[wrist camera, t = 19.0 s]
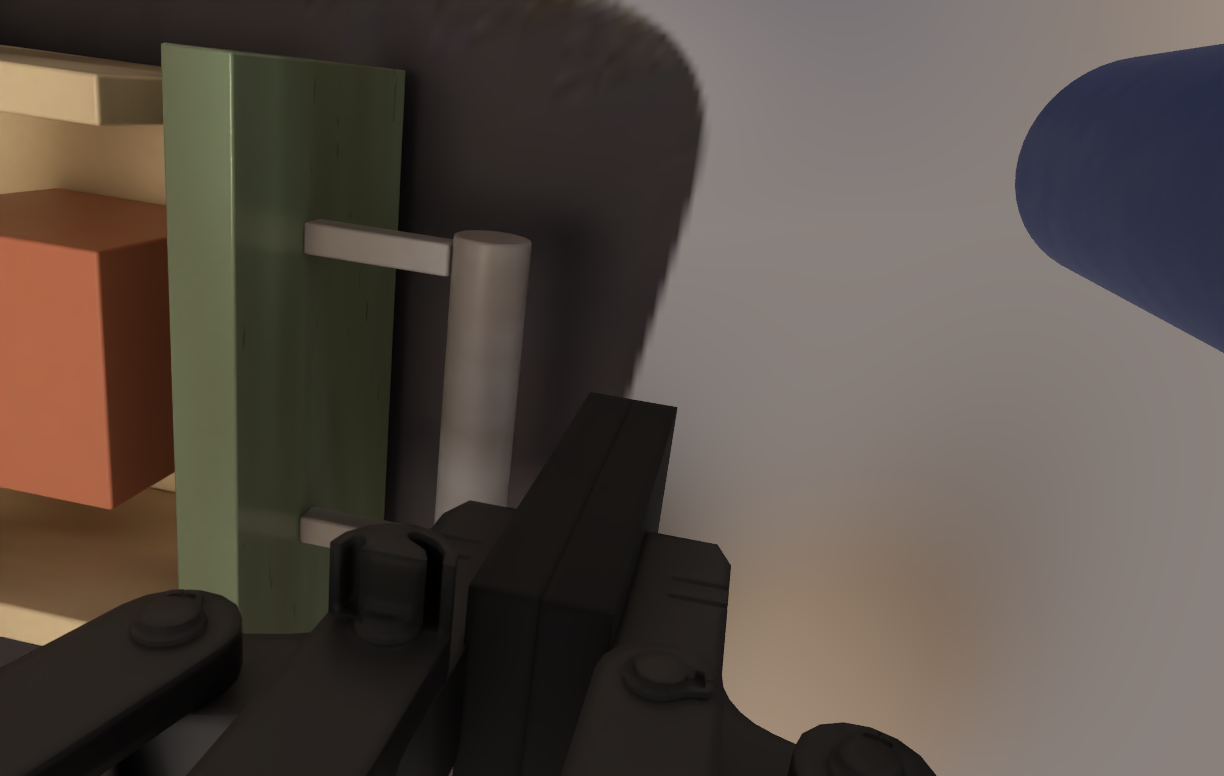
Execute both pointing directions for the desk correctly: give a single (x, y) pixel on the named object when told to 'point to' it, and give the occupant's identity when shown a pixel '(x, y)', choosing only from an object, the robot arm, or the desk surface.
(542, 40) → the desk surface
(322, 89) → the drawer
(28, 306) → the block
